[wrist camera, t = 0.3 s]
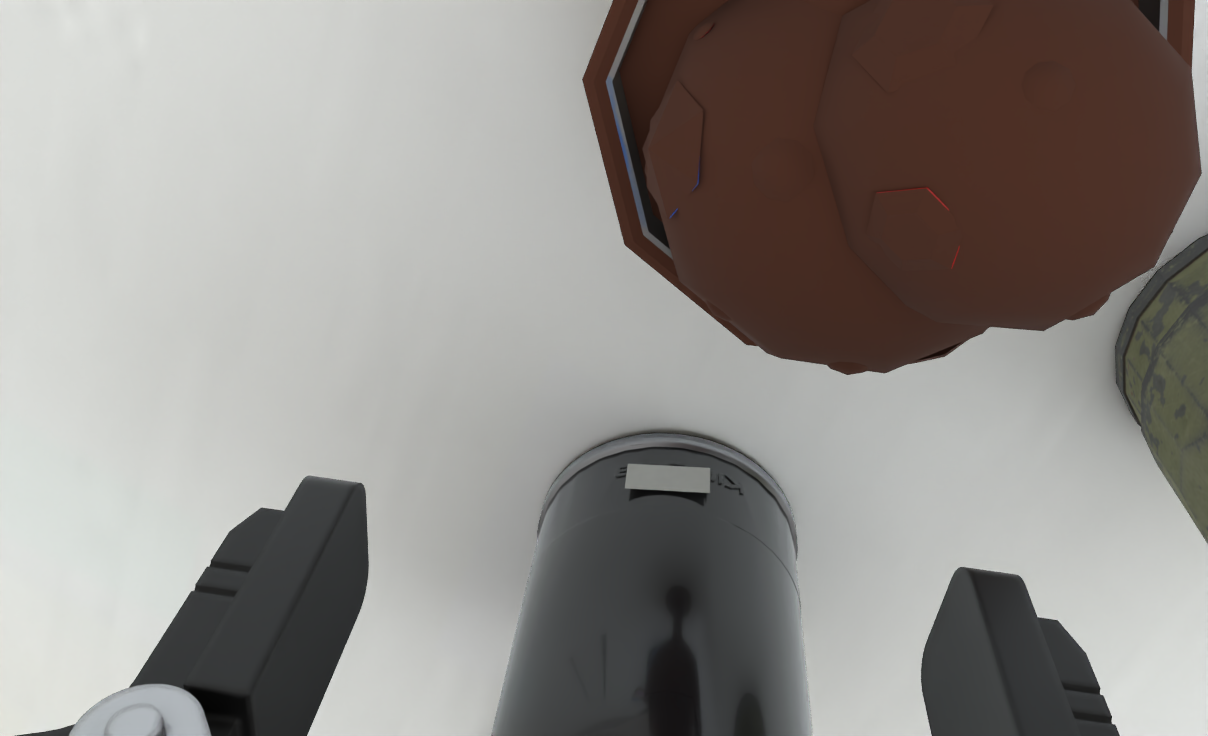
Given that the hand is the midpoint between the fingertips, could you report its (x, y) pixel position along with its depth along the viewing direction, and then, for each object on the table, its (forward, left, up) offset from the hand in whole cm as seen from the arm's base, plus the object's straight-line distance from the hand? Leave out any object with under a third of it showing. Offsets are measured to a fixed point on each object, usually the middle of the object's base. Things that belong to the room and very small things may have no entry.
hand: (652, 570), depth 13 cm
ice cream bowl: (+4, -3, -18) cm, 19 cm away
